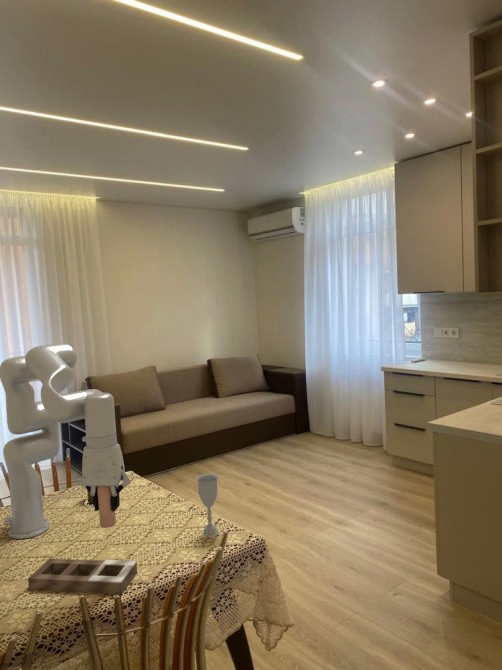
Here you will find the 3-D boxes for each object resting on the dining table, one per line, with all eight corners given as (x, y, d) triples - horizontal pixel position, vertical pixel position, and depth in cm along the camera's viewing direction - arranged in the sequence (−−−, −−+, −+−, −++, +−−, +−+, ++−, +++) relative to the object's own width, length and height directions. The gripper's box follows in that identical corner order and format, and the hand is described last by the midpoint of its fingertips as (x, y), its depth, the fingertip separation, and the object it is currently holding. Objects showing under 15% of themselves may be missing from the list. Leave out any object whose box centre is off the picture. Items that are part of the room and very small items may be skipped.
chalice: (194, 533, 156) (191, 478, 155) (210, 525, 161) (207, 472, 160) (210, 540, 151) (206, 483, 150) (226, 532, 156) (223, 476, 155)
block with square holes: (28, 589, 130) (27, 577, 130) (50, 568, 140) (49, 557, 140) (122, 594, 126) (121, 581, 125) (137, 572, 136) (136, 560, 135)
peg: (97, 527, 129) (93, 482, 128) (104, 520, 133) (101, 477, 132) (111, 528, 128) (108, 482, 127) (118, 521, 132) (115, 477, 131)
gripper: (64, 445, 126) (70, 514, 128) (126, 445, 124) (131, 516, 125) (79, 437, 134) (84, 502, 135) (137, 436, 131) (142, 503, 132)
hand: (106, 508), depth 130 cm, fingers closed on peg, 4 cm apart
